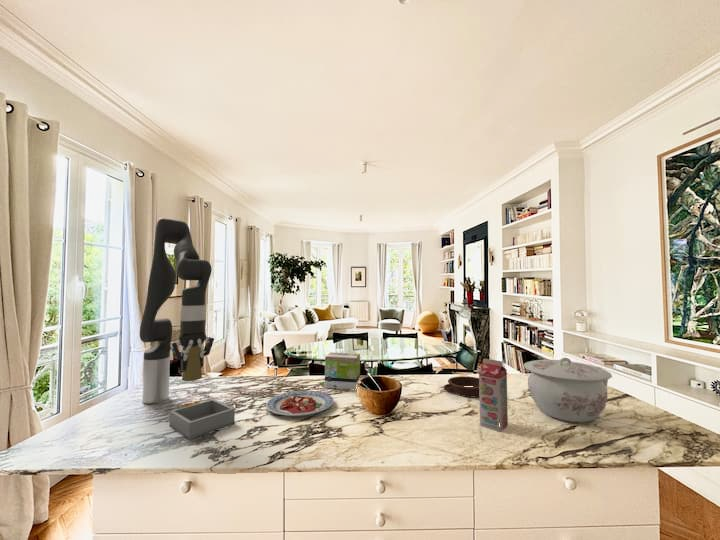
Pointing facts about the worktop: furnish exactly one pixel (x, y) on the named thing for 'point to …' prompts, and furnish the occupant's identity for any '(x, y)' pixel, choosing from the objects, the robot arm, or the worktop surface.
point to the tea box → (342, 370)
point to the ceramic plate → (299, 403)
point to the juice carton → (493, 395)
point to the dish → (458, 386)
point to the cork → (193, 365)
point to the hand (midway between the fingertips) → (192, 369)
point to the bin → (201, 418)
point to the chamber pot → (568, 389)
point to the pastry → (188, 404)
